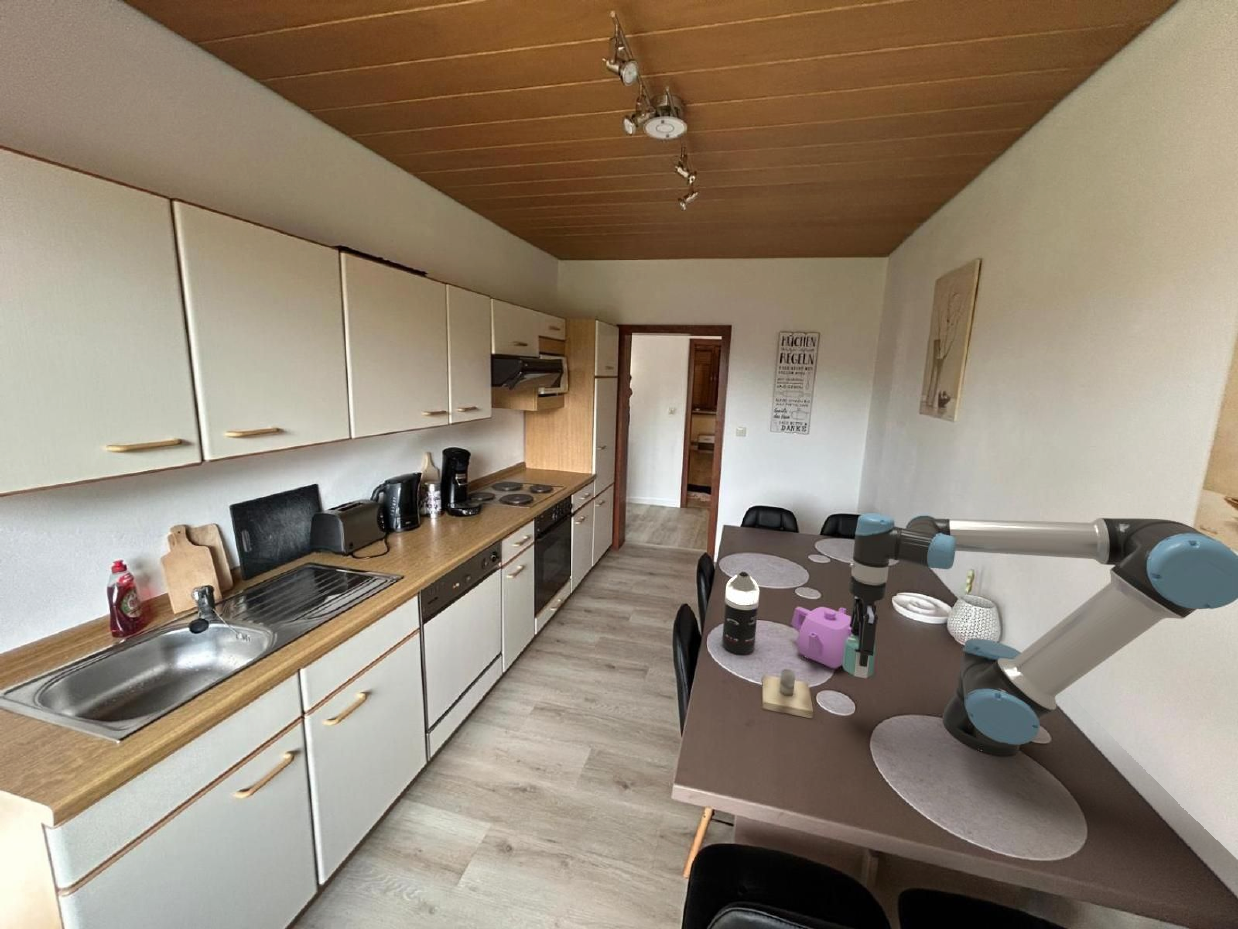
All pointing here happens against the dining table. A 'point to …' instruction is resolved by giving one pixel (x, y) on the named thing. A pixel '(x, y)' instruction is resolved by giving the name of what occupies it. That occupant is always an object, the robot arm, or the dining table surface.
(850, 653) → the cap
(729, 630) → the black bottle
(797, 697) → the bolt post
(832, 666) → the teapot
